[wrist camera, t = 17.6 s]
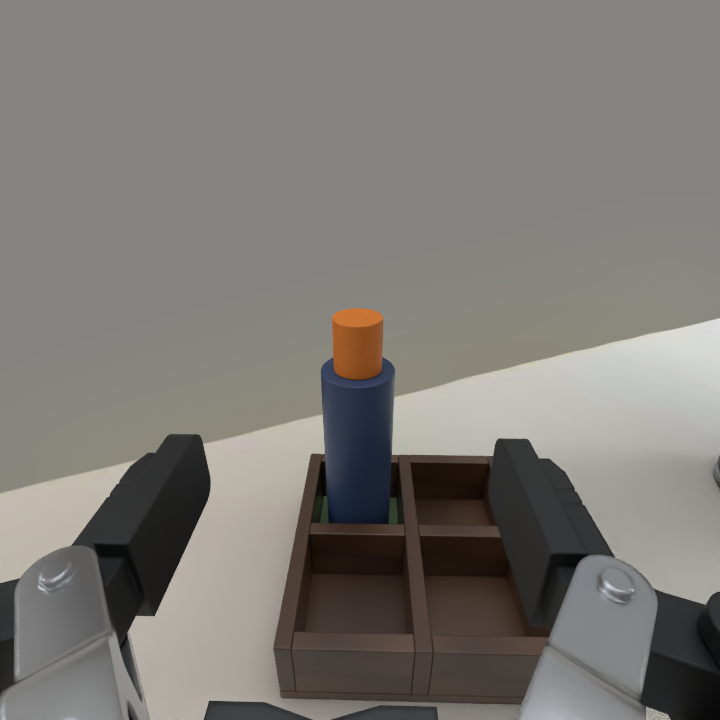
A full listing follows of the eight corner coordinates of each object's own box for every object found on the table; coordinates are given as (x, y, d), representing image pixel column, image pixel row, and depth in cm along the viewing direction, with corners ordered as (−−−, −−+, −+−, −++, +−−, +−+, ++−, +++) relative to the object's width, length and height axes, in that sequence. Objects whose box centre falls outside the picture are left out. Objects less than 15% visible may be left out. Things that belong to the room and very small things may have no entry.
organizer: (489, 498, 32) (497, 455, 30) (559, 705, 20) (578, 656, 18) (313, 495, 32) (311, 453, 30) (280, 698, 20) (272, 648, 19)
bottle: (387, 504, 30) (394, 303, 23) (389, 553, 27) (399, 332, 20) (331, 504, 30) (322, 303, 24) (326, 552, 27) (313, 332, 20)
